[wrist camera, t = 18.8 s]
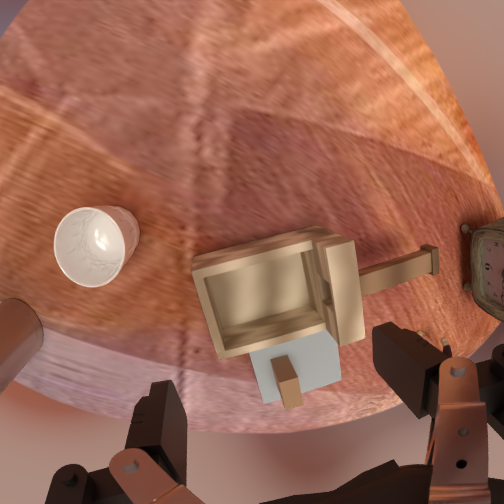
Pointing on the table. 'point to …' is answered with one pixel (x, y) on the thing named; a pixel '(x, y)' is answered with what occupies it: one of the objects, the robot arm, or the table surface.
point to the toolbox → (280, 291)
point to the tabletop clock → (487, 267)
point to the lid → (296, 368)
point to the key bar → (399, 270)
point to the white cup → (95, 243)
